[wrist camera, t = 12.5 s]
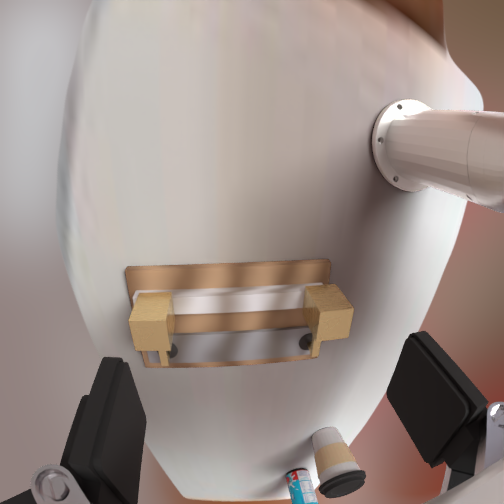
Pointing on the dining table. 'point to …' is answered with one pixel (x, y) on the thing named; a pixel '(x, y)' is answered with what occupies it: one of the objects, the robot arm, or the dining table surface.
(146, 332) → the block
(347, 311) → the fixed leg
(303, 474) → the beverage can
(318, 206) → the dining table surface
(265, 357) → the board
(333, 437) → the coffee cup
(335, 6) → the dining table surface
